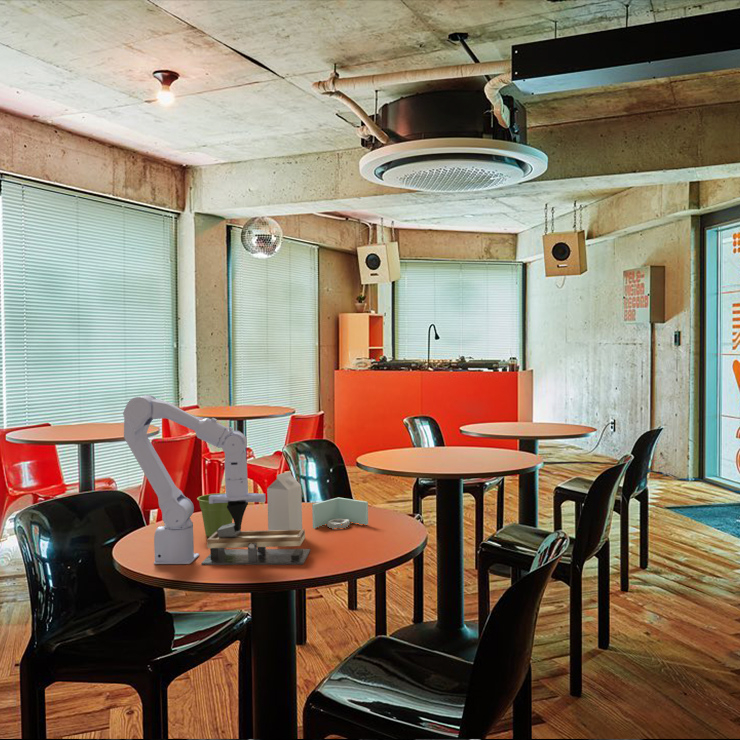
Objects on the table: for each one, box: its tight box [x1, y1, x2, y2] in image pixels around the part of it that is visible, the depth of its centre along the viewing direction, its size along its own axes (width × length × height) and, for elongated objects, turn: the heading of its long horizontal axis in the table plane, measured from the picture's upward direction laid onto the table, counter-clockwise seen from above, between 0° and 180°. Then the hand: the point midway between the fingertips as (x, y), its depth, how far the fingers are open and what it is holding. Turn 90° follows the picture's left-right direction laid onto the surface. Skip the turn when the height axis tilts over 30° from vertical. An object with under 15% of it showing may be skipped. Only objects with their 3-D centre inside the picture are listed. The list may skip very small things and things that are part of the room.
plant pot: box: [196, 492, 234, 538], centre depth 202 cm, size 12×12×11 cm
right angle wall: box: [311, 496, 369, 530], centre depth 208 cm, size 12×12×8 cm
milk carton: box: [266, 470, 303, 530], centre depth 196 cm, size 7×7×19 cm
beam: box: [206, 528, 306, 549], centre depth 178 cm, size 24×8×2 cm, turn 86°
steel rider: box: [217, 522, 242, 538], centre depth 179 cm, size 4×5×3 cm
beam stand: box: [200, 543, 311, 566], centre depth 178 cm, size 26×13×5 cm, turn 86°
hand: (238, 530), depth 178 cm, fingers closed, pressing on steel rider
